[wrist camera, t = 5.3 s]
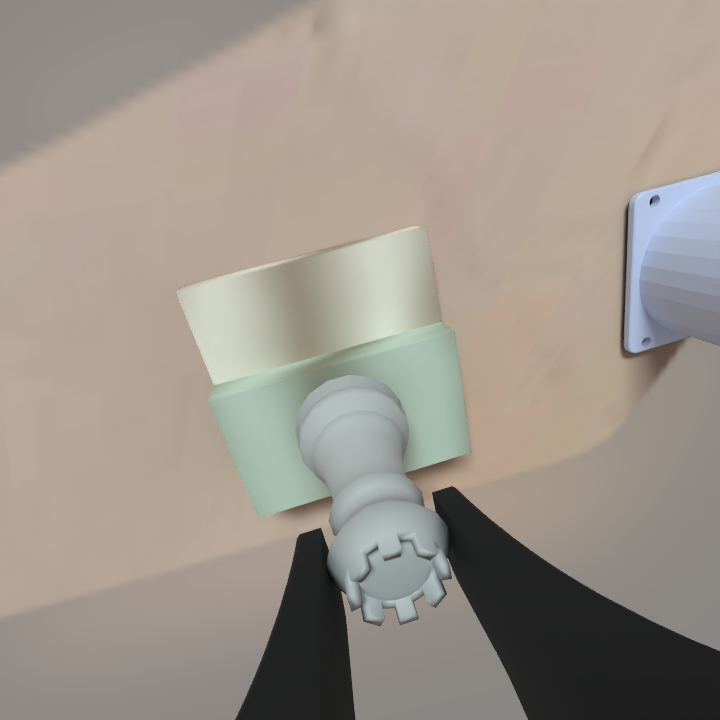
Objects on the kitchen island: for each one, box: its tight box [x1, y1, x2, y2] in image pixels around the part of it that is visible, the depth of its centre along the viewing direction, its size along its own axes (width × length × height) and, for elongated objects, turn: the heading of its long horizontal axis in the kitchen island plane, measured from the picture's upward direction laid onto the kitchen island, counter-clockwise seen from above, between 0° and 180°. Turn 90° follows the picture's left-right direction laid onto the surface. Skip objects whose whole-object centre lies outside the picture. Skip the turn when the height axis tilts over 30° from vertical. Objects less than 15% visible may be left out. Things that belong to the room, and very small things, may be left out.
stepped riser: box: [176, 226, 472, 518], centre depth 18 cm, size 10×10×3 cm
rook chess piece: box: [295, 375, 452, 626], centre depth 13 cm, size 4×4×8 cm
